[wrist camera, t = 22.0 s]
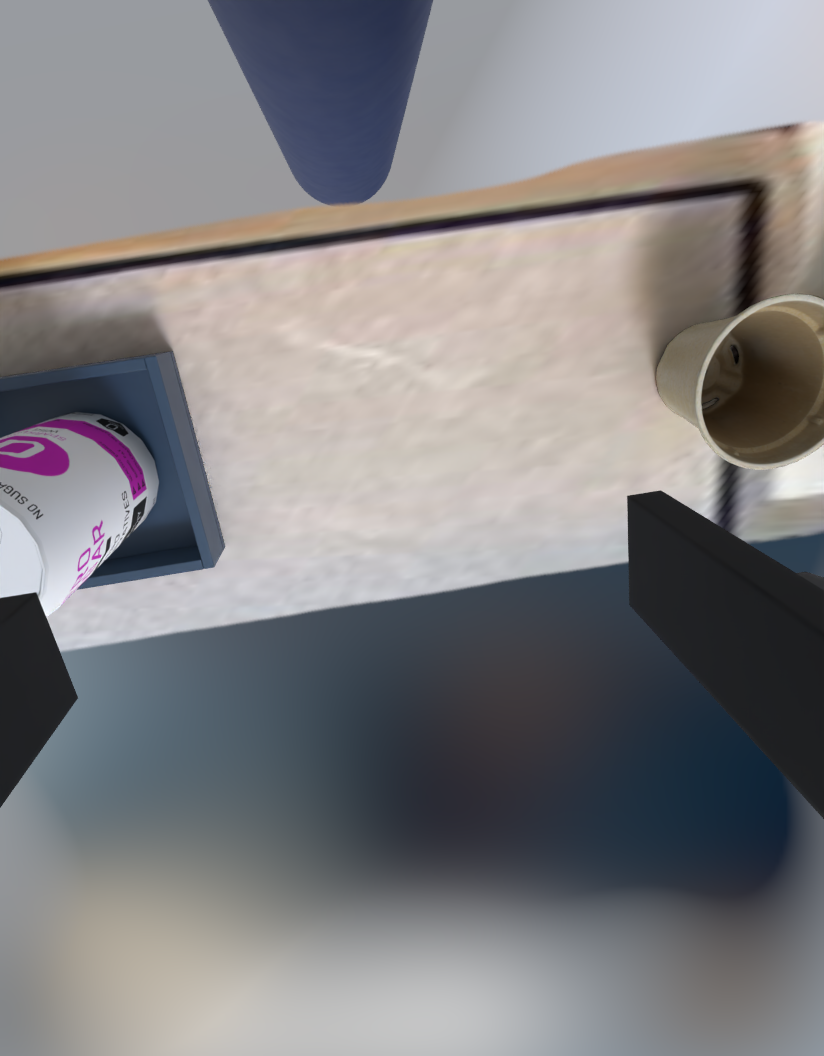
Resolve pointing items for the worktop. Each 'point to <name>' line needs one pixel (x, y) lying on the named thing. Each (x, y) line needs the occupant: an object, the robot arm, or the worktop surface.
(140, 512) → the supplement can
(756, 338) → the flower pot
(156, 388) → the blue open tray
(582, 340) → the worktop surface
